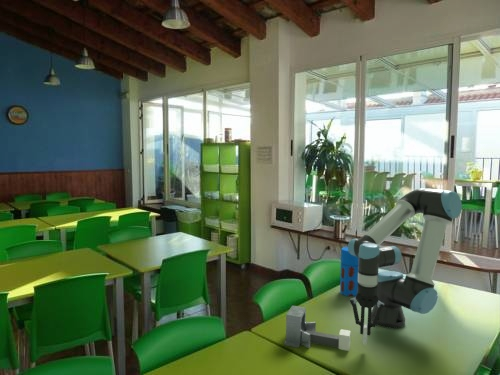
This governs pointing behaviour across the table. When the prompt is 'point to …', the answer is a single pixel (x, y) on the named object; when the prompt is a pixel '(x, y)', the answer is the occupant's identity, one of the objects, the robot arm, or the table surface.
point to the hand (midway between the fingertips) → (364, 342)
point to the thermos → (348, 273)
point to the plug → (332, 339)
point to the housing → (298, 327)
